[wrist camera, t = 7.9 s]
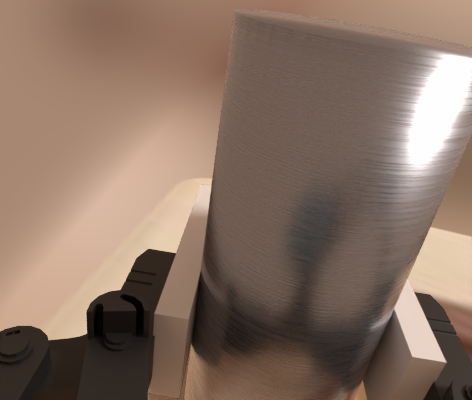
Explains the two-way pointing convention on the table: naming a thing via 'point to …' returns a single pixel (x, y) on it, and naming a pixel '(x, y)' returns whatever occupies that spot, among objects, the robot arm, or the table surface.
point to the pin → (319, 200)
